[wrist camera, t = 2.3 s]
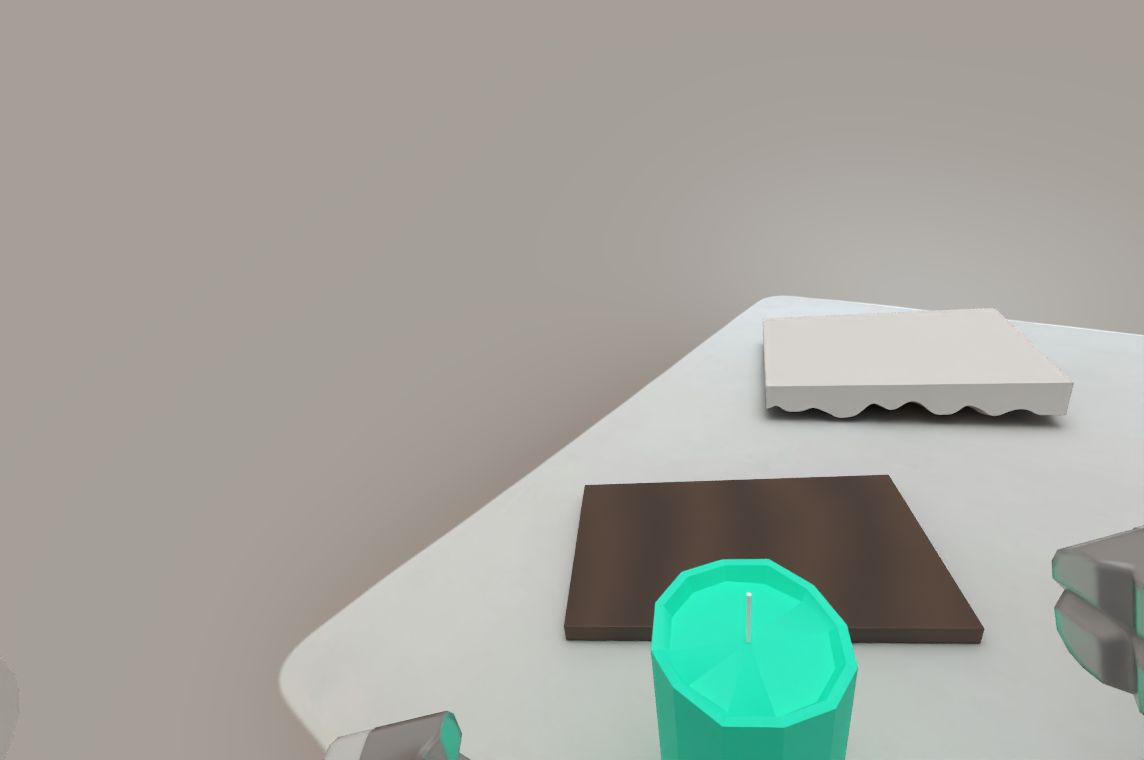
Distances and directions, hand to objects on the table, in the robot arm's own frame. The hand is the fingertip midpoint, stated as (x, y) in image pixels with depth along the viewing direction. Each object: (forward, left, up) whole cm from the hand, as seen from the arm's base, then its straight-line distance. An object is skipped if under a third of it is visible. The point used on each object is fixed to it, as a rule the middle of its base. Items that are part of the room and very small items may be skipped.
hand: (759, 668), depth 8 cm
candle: (+1, +7, -19) cm, 20 cm away
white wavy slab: (+18, +42, -19) cm, 50 cm away
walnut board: (+3, +21, -19) cm, 28 cm away
